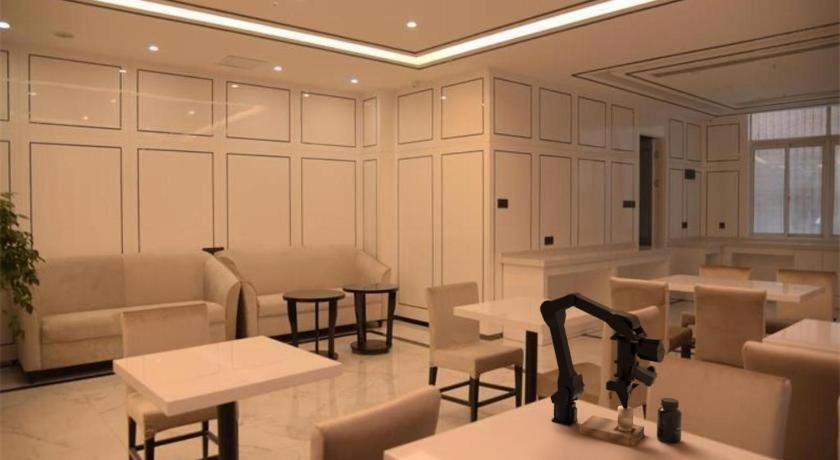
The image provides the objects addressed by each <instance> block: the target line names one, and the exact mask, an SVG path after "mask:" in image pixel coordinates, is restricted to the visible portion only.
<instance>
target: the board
mask: <svg viewBox="0 0 840 460" xmlns="http://www.w3.org/2000/svg"><path fill="white" fill-rule="evenodd" d="M579 434H580V435H584V436H588V437H593V438H597V439H601V440H605V441H609V442H613V443H618V444H622V445H626V446H629V447H635V445H636V444H637V443H638V442H639V441H640V440H641V439H642V438H643V437H644V435H645V426H643V425H639V424H634V423H633V426H632V431H631V434H627V433H623V432H619V425H618V420H616V419H611V418H607V417H602V416H597V415H591V416H590V417H588V419H586V420H585V421H584V422H583V423H581V424H580V425H579Z"/></svg>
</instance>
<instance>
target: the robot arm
mask: <svg viewBox="0 0 840 460" xmlns="http://www.w3.org/2000/svg"><path fill="white" fill-rule="evenodd" d="M572 307H574V308H575V309H578V310H580V311H582V312H583V313H585V314H588V315H591V316H592V317H594V318H596V319H599V320H601V321H603V322H605V324H606V325H607V326H608V327H609V328H610V329H611V330H613V331H614V333H613V335H612V336H610V337H609V340H610V341H616V358H615V359H614V360H613V361H614V362H613V363H614V364H616V365H615V368H616V369H615V372H614V373H613V377H612V378H610V379H609V380H608V381H606V382H605V390H607V391H611V392H615V393H616V395H617V397H618V399H619V402H620V404H621V406H623V408H625V409H627V408H628V406H629V404H630V401H631V397H632V395H633V391H634V390H635V389H636V388H637V387H639V386H640V384H639V383H637V382H636V383H635V381H636V380H637V381H638V382H640V383H642V384H644V385H645V386H647V387H650V388H651V387H652V386H653V385H654V383H655V381H656V379H657V378H658V373H657V370H656V367H655V366H654V365H651V364H649V366H647V367H646V366H642V365H641V364H640V362H641V361H639V359H640V360H643V361H647V362H648V361H649V362H652V363H653V362H654V363H659V364H661V363H663V361H664V358H665V353H666V349H665V345H664V344H663V339H662V338H659V337H657V338H656V337H655V338H654V337H648V334H647V333H646V331H645V330H644V328H643V326H642V325H641V321H640V319H639V317H638V315H636V314H635V313H630V312H627V311H623V310H615V309H613V308H611V307H609V306H606V305H605V304H602V303H600V302H598V301H596V300H593V299H592V298H590V297H587V296H585V295H583V294H581V293H580V292H577V291H573V292H570V293H567V294H566V295H564V296H561V297H559V298H552V299H546V300H544V301H543V302H542V303H541V304H540V305H539V312H540V314H541V317H542V320H543V322H544V323H545V324H546V325H547V328H548V330H549V331H550V332H549V333H550V337H551V342H552V346H553V351H554V356H555V359H556V365H557V368H558V376H557V380H556V384H557V385H556V387H557V388H556V389H557V391H555V392H553V393H552V395H550V397H549V398H550V401H551V403H552V404H553V417H552V418H551V421H552V422H554V423H559V424H563V425H567V426H571V425H573V424H574V423H575V422H577V421H578V407H576V406H577V403H576V401H578V400H579V397H581V396H582V395H583V393H584V387H586V385H585V383H584V380H583V378H584V377H583V374H582V373H577V371H576V370H575V368H574V363H573V360H572V359H573V358H572V354H571V351H570V350H571V349H570V345H569V341H568V337H567V332H566V328H565V327H566V326H565V324H566V318H567V310H568V309H570V308H572ZM638 358H639V359H638Z"/></svg>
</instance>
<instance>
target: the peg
mask: <svg viewBox="0 0 840 460" xmlns="http://www.w3.org/2000/svg"><path fill="white" fill-rule="evenodd" d="M617 421H618V425H619V432H623V433H627V434H631V431H632V426H633V424H634V407H631V406H629V405H628V408H627V409H625V408H623V406H622V405H618V406H617Z"/></svg>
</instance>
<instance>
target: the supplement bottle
mask: <svg viewBox="0 0 840 460" xmlns="http://www.w3.org/2000/svg"><path fill="white" fill-rule="evenodd" d="M679 405H680V403H679V400H678V399H676V398H672V397H662V398H661V400H660V407H658V409H657V410H656V411H657V413H656V438H657V439H658V440H659V441H660V442H662V443H665V444H666V443H667V444H673V445H674V444H679V443H681V441H682V425H683V424H682V423H683V421H682V420H683V413H682V411H681V410H680V409H679V408H680V406H679Z"/></svg>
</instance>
